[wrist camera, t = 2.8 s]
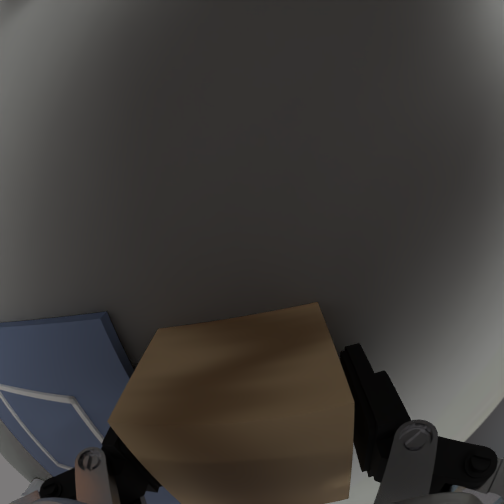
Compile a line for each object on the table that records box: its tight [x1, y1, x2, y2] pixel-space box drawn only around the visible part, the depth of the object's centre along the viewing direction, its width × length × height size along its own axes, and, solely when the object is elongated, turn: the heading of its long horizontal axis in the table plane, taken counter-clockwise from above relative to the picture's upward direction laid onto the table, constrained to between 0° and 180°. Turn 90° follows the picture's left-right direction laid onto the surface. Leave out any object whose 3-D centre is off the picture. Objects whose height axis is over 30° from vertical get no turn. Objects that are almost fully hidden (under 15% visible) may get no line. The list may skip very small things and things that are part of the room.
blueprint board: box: [0, 312, 181, 504], centre depth 13 cm, size 18×18×1 cm
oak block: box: [107, 302, 355, 504], centre depth 9 cm, size 6×6×5 cm
